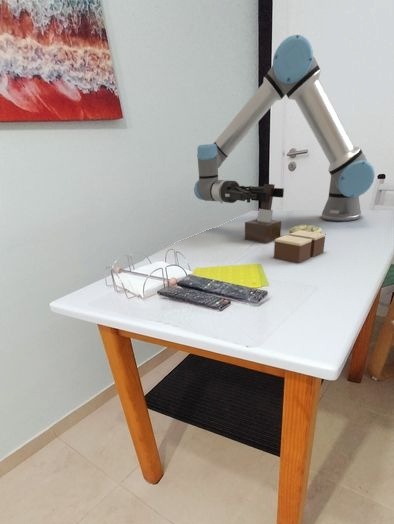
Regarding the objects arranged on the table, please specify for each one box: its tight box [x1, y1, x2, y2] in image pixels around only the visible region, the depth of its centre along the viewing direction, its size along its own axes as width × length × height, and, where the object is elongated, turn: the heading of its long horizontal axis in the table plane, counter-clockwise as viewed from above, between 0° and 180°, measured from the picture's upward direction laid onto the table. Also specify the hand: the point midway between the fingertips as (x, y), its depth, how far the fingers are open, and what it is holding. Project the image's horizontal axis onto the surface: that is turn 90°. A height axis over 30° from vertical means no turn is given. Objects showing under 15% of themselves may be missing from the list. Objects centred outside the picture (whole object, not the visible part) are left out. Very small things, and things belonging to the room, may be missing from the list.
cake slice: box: [273, 234, 312, 264], centre depth 100 cm, size 6×9×6 cm, turn 41°
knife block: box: [244, 218, 282, 244], centre depth 121 cm, size 8×10×6 cm
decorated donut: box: [288, 224, 323, 234], centre depth 119 cm, size 10×11×4 cm
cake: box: [288, 230, 326, 258], centre depth 104 cm, size 6×9×6 cm, turn 41°
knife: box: [256, 183, 276, 223], centre depth 119 cm, size 2×6×18 cm, turn 41°
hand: (275, 194), depth 112 cm, fingers open, 8 cm apart
